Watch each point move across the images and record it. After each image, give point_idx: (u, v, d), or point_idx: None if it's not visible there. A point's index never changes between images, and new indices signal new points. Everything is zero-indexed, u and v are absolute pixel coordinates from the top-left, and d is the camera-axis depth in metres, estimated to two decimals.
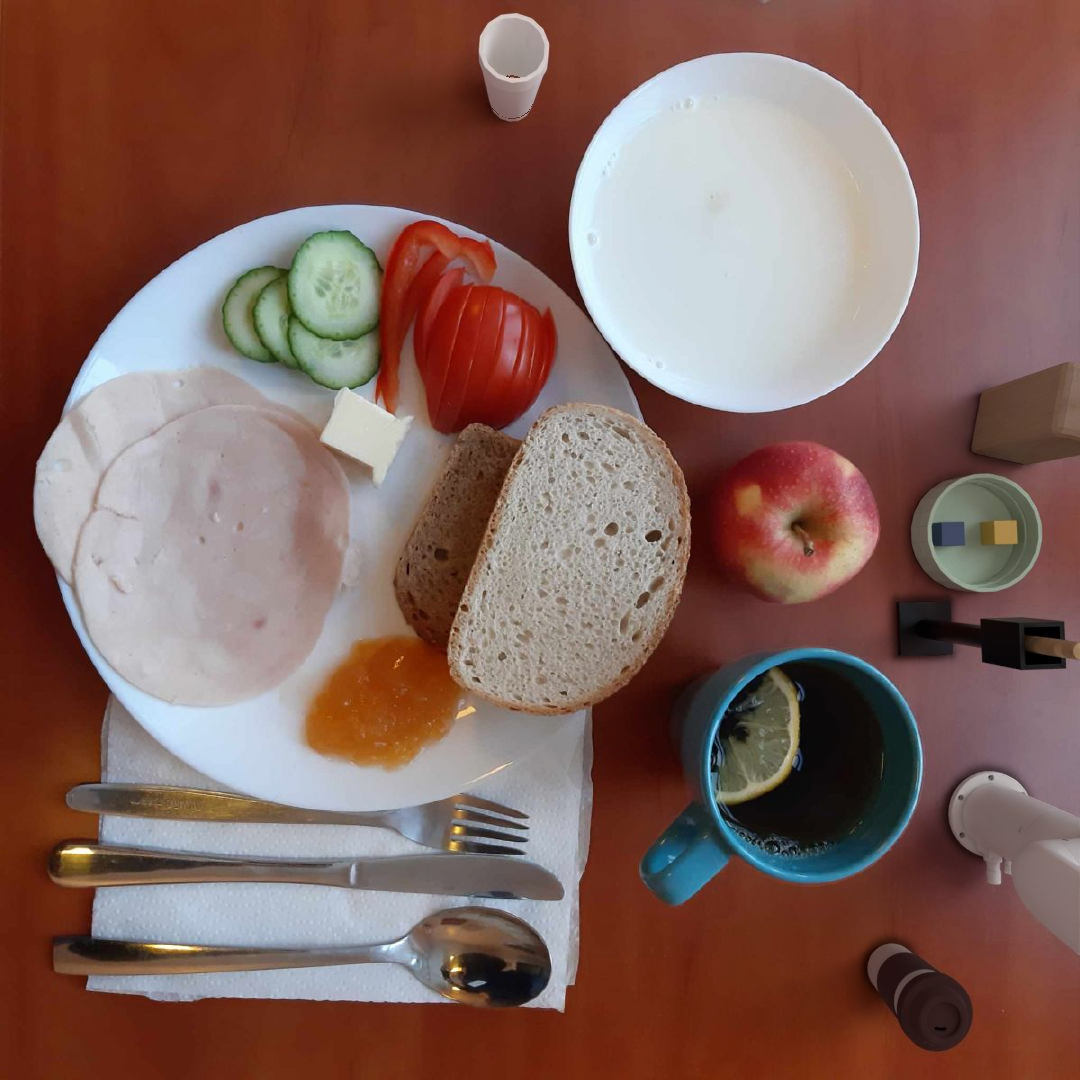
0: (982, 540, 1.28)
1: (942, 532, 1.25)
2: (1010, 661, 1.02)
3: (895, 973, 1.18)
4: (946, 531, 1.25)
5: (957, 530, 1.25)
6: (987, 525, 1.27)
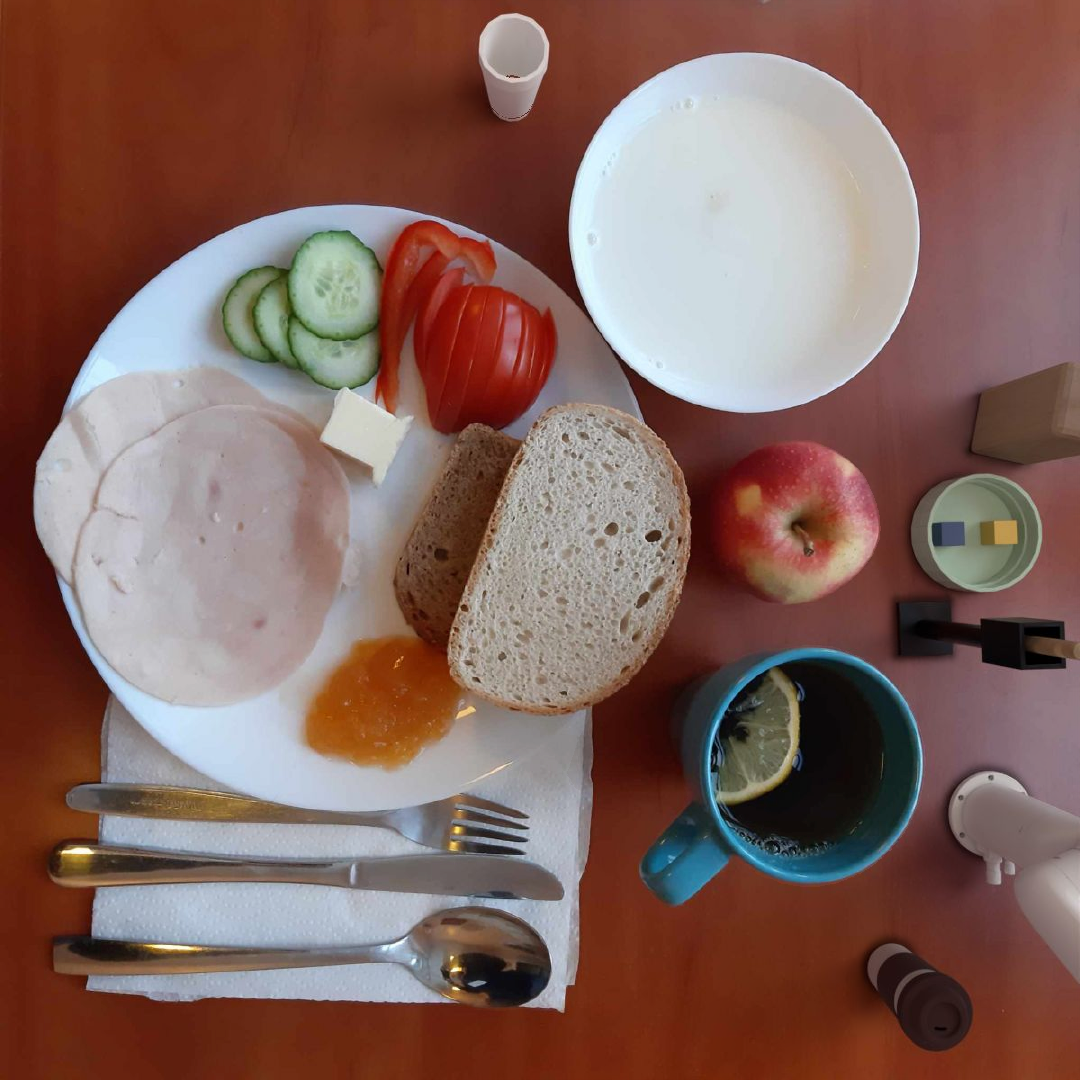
0: (982, 540, 1.28)
1: (942, 532, 1.25)
2: (1010, 661, 1.02)
3: (895, 973, 1.18)
4: (946, 531, 1.25)
5: (957, 530, 1.25)
6: (987, 525, 1.27)
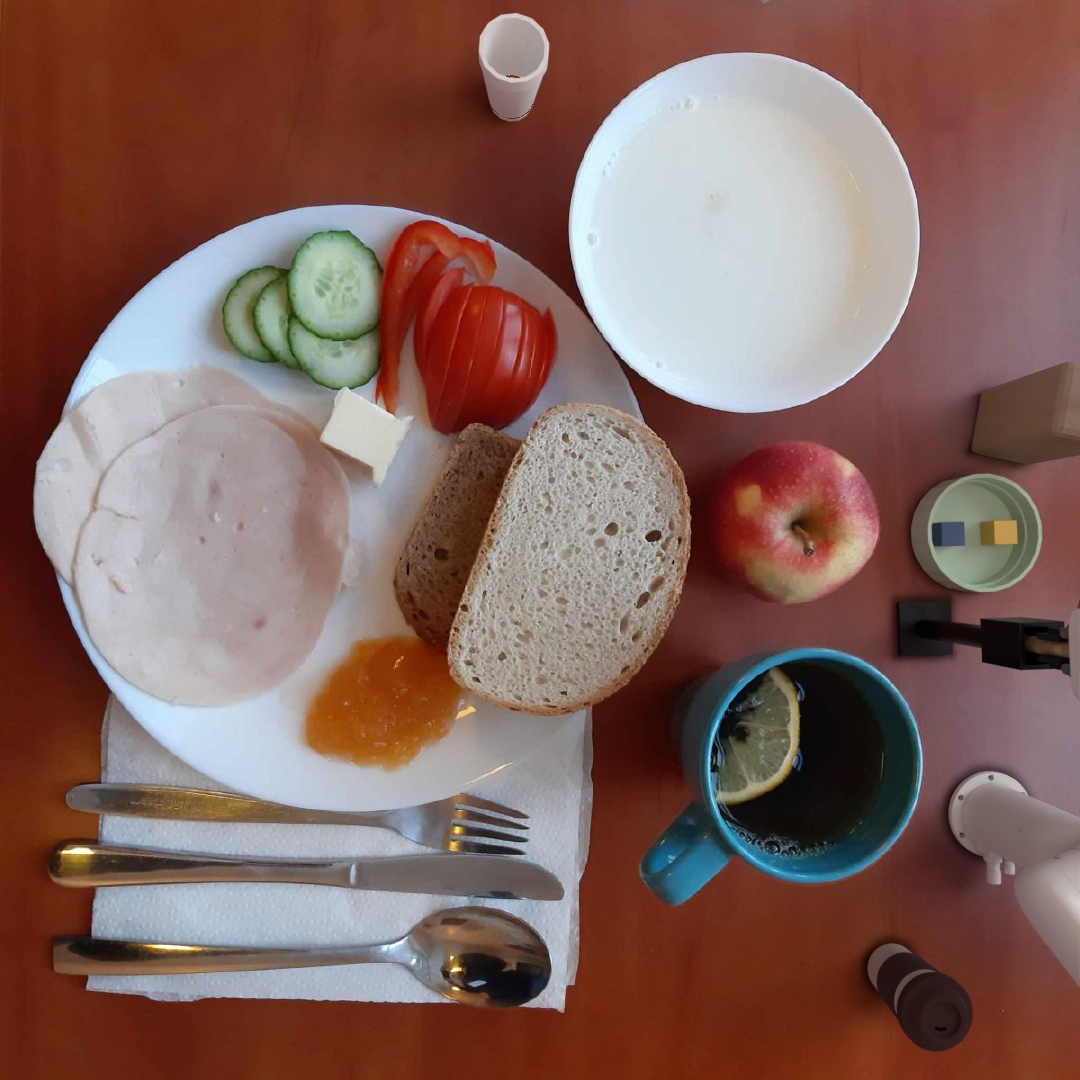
0: (982, 540, 1.28)
1: (942, 532, 1.25)
2: (1010, 661, 1.02)
3: (895, 973, 1.18)
4: (946, 531, 1.25)
5: (957, 530, 1.25)
6: (987, 525, 1.27)
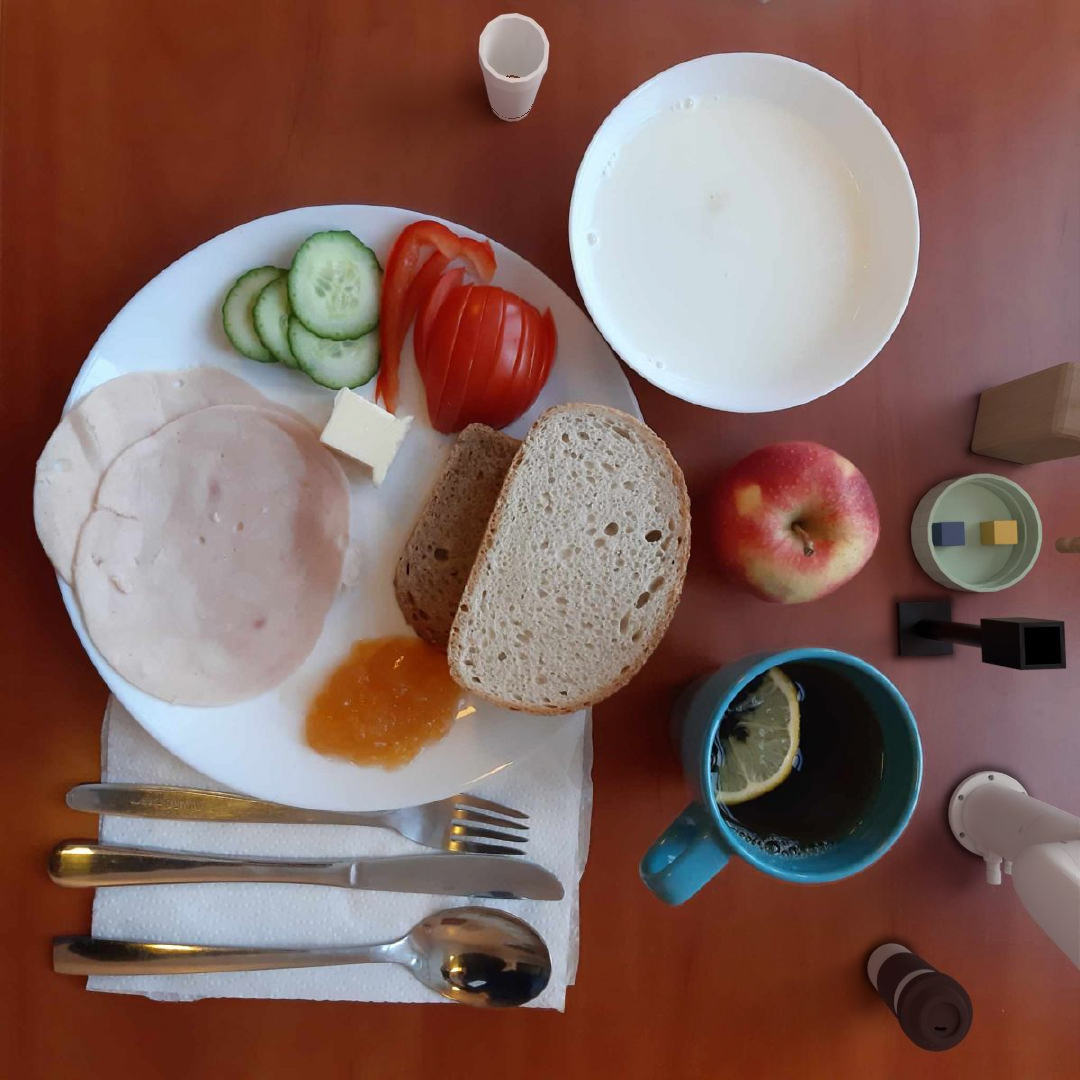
0: (982, 540, 1.28)
1: (942, 532, 1.25)
2: (1010, 661, 1.02)
3: (895, 973, 1.18)
4: (946, 531, 1.25)
5: (957, 530, 1.25)
6: (987, 525, 1.27)
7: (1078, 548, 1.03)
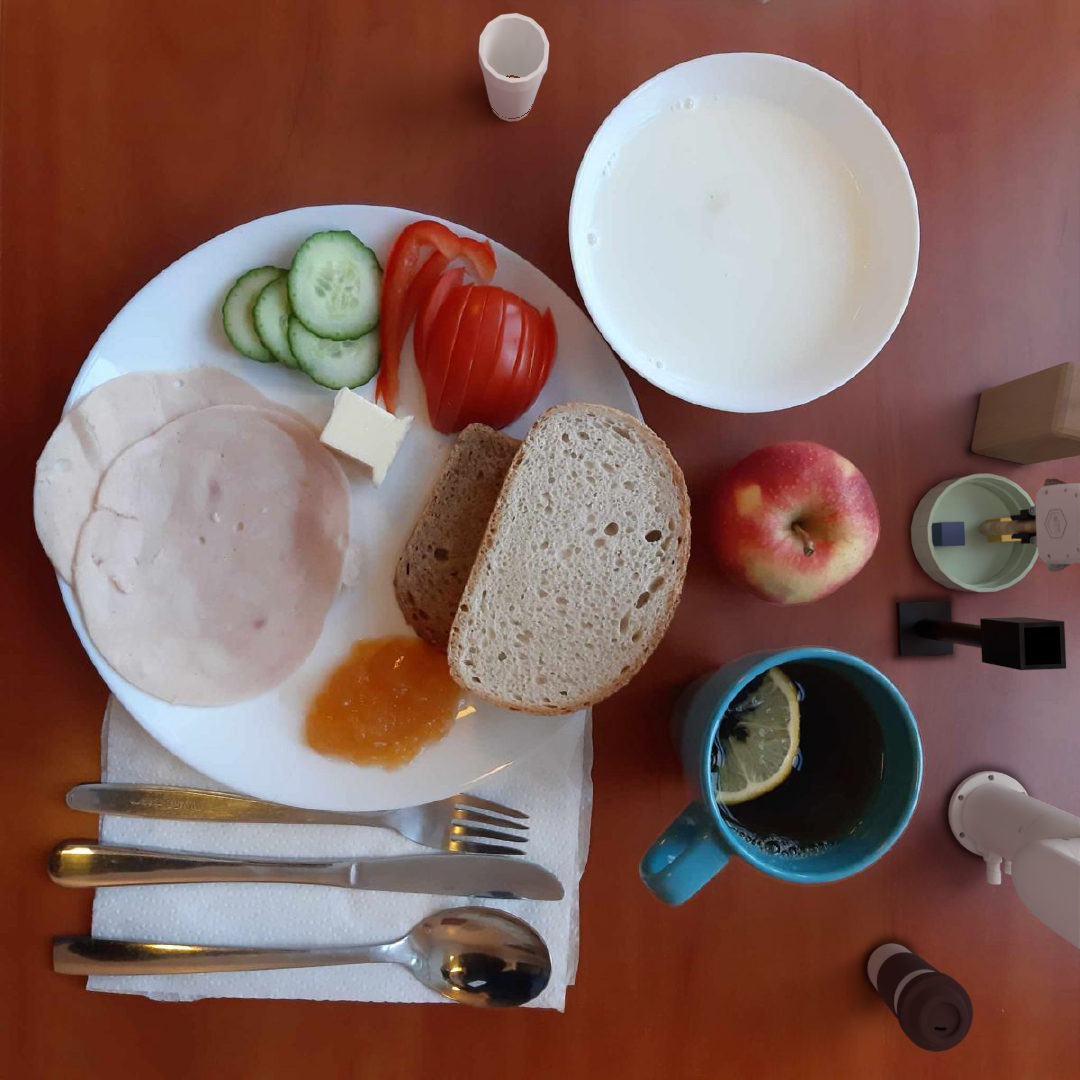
0: (989, 537, 1.28)
1: (942, 532, 1.25)
2: (1010, 661, 1.02)
3: (895, 973, 1.18)
4: (946, 531, 1.25)
5: (957, 530, 1.25)
6: None
7: (996, 531, 1.23)
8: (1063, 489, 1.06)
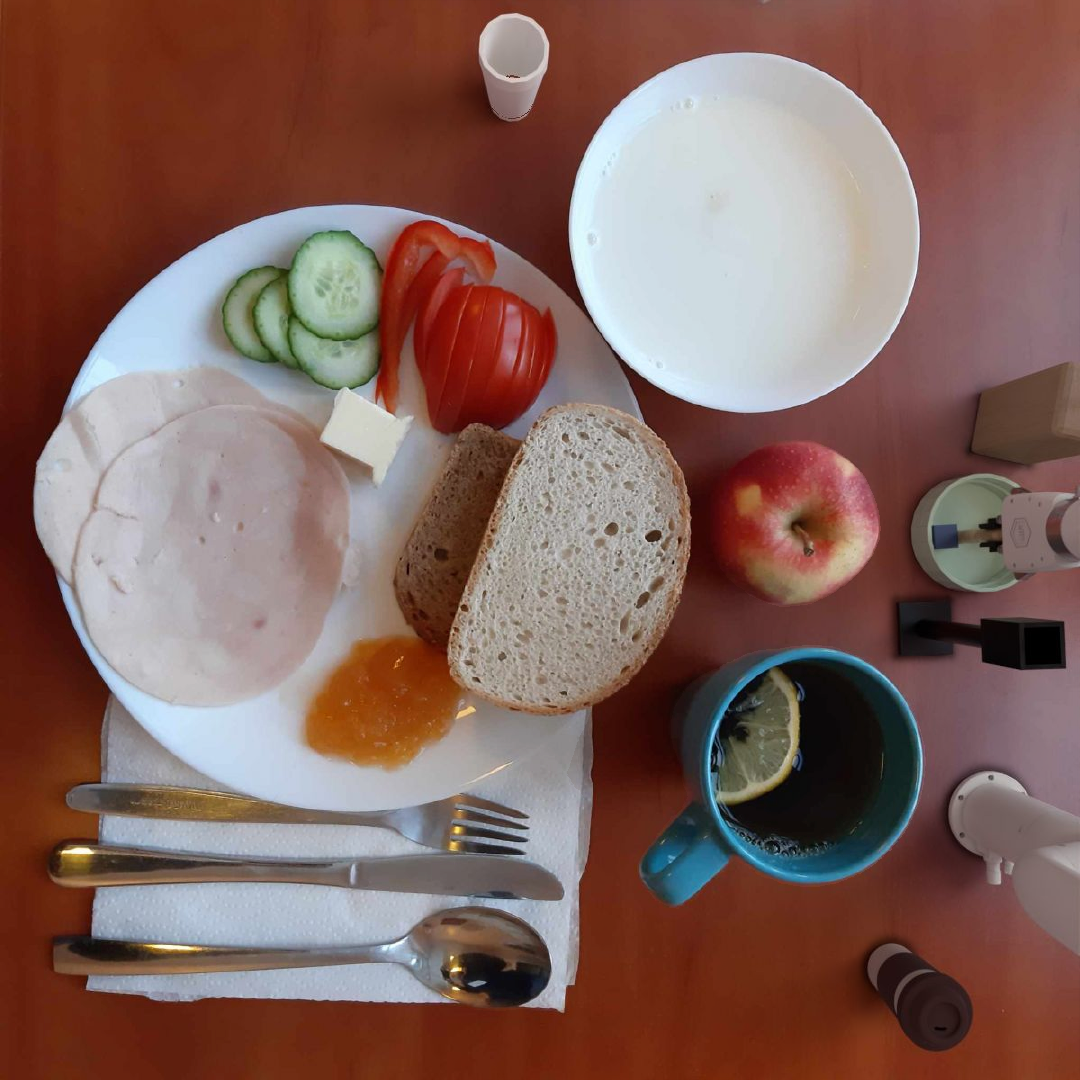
0: None
1: (935, 536, 1.25)
2: (1010, 661, 1.02)
3: (895, 973, 1.18)
4: (938, 534, 1.25)
5: (950, 533, 1.25)
6: None
7: (965, 539, 1.23)
8: (1028, 498, 1.06)
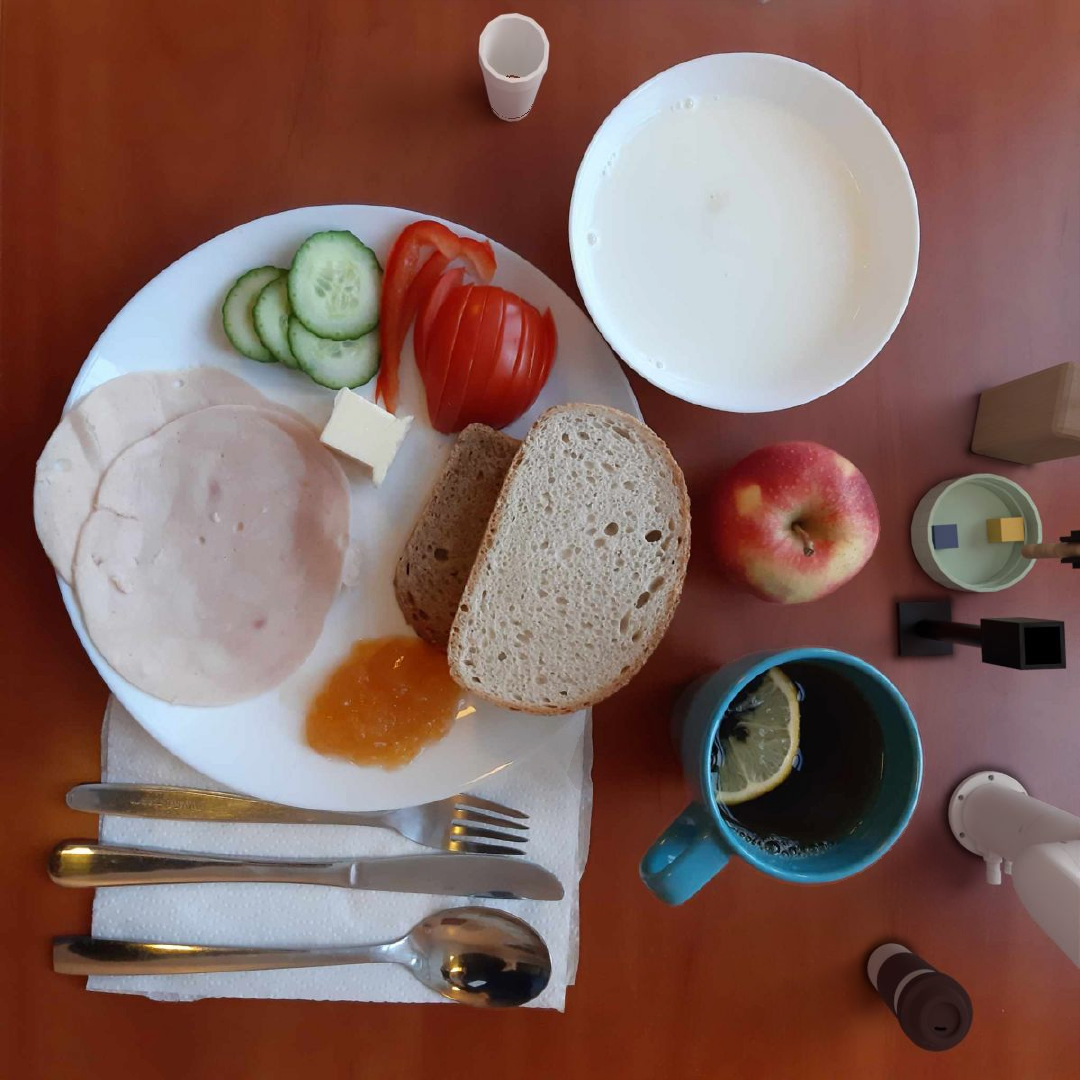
0: (989, 537, 1.28)
1: (935, 536, 1.25)
2: (1010, 661, 1.02)
3: (895, 973, 1.18)
4: (939, 534, 1.25)
5: (950, 533, 1.25)
6: (993, 522, 1.27)
7: (1041, 553, 1.10)
8: None
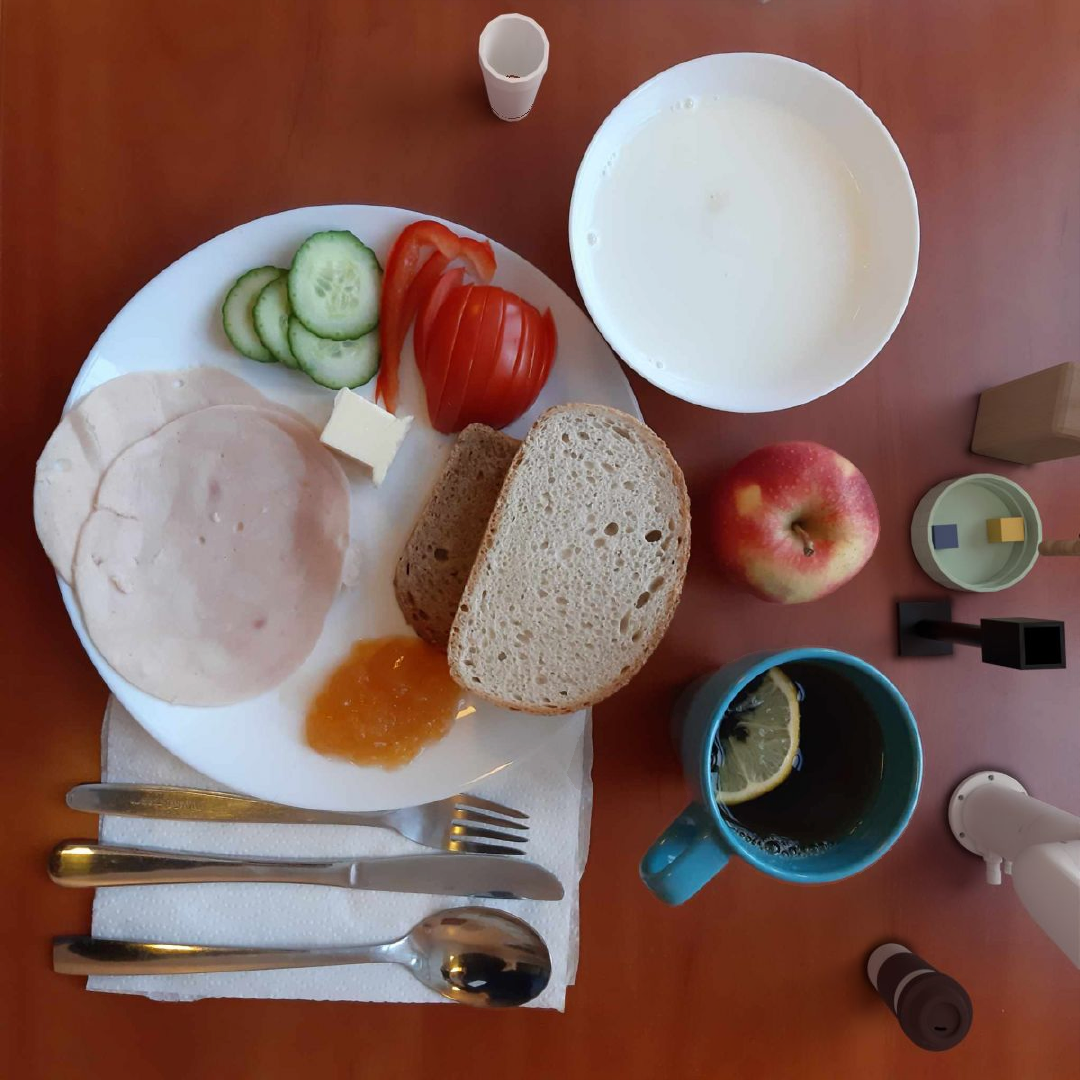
0: (989, 537, 1.28)
1: (935, 536, 1.25)
2: (1010, 661, 1.02)
3: (895, 973, 1.18)
4: (939, 534, 1.25)
5: (950, 533, 1.25)
6: (993, 522, 1.27)
7: (1059, 551, 1.06)
8: None
